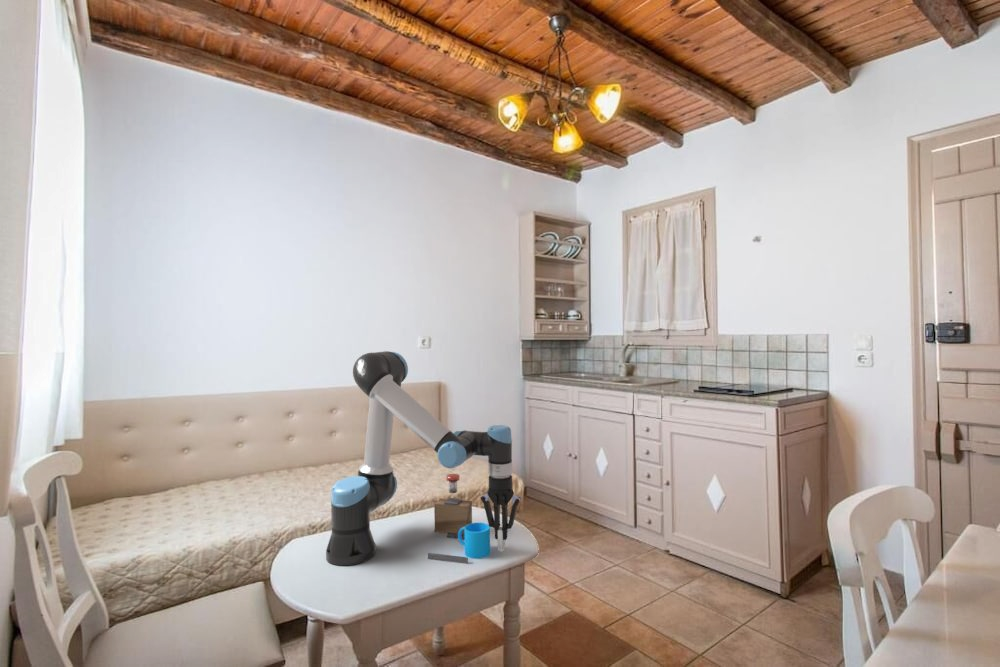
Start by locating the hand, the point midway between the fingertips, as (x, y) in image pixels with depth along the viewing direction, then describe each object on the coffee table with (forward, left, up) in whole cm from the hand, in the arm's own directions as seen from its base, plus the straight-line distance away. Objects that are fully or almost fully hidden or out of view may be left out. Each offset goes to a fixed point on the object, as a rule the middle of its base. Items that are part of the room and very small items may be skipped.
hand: (501, 549), depth 154 cm
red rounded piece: (-22, +14, +12) cm, 28 cm away
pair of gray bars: (-15, 0, -2) cm, 15 cm away
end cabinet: (-22, +14, -2) cm, 26 cm away
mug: (-10, 0, -2) cm, 10 cm away
